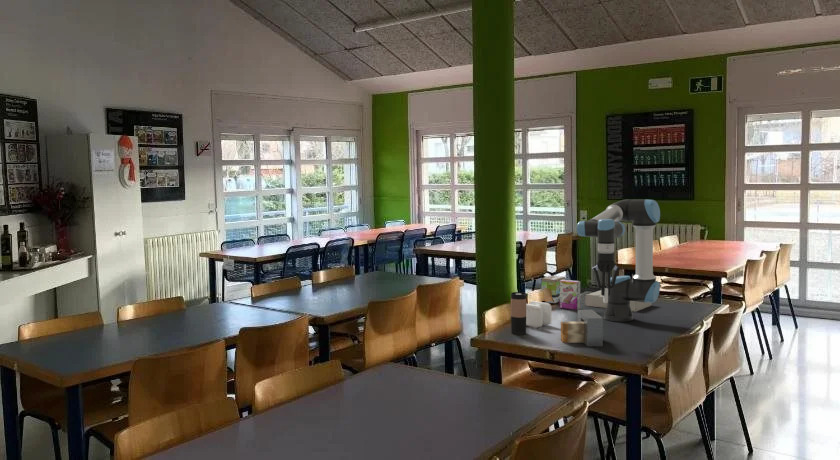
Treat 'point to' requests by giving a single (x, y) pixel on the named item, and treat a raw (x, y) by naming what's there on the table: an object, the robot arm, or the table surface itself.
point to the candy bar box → (569, 294)
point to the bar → (572, 332)
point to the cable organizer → (538, 314)
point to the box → (597, 301)
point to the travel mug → (518, 313)
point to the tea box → (553, 286)
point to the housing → (592, 327)
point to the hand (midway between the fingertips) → (605, 302)
